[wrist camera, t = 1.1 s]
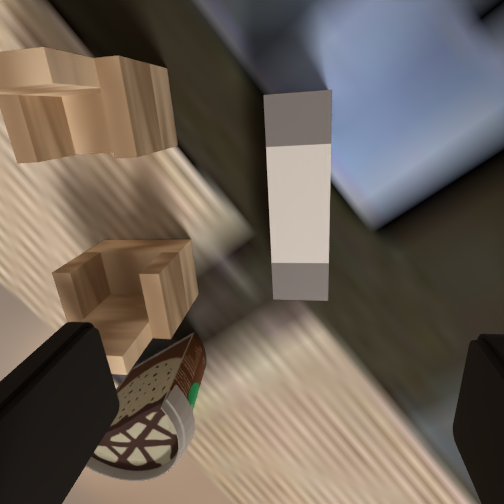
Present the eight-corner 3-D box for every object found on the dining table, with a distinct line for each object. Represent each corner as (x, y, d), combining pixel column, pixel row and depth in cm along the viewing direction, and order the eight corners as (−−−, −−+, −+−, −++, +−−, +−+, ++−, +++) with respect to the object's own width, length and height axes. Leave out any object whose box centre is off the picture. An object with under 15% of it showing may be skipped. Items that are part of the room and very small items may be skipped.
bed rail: (328, 92, 25) (332, 89, 20) (325, 271, 30) (327, 300, 25) (272, 97, 25) (263, 95, 21) (279, 270, 30) (273, 299, 26)
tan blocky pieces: (166, 68, 26) (72, 43, 16) (198, 293, 33) (148, 376, 23) (64, 78, 27) (-82, 61, 17) (116, 292, 34) (34, 368, 24)
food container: (159, 410, 40) (113, 500, 31) (123, 373, 38) (64, 455, 29) (242, 369, 35) (218, 459, 26) (205, 325, 34) (166, 405, 25)
